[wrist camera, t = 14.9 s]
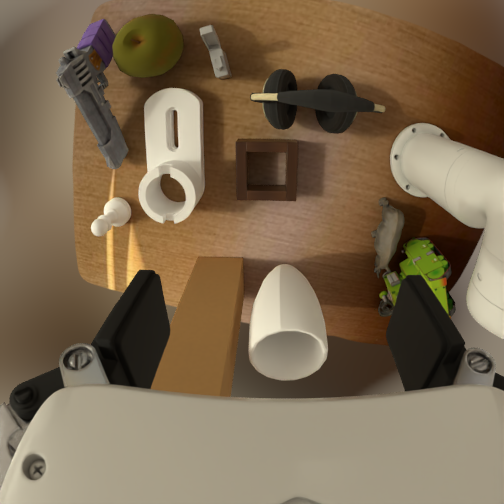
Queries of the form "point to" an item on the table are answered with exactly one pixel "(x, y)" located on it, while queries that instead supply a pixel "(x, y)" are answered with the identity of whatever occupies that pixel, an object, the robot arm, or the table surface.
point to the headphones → (312, 101)
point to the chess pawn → (112, 216)
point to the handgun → (94, 88)
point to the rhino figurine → (387, 235)
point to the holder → (266, 191)
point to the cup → (287, 327)
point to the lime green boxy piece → (422, 272)
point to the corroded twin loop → (385, 308)
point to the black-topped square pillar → (204, 331)
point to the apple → (148, 46)
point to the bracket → (173, 153)
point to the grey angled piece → (216, 52)
